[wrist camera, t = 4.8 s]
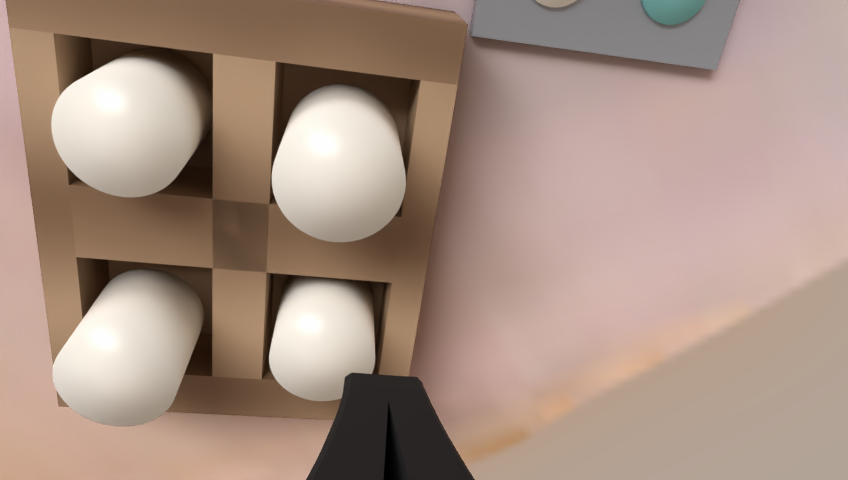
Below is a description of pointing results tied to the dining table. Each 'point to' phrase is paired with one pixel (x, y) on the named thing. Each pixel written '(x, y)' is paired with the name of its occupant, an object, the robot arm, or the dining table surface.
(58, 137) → the button near left
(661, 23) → the card
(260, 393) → the board
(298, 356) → the button far right
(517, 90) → the dining table surface
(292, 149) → the button near right
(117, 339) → the button far left
